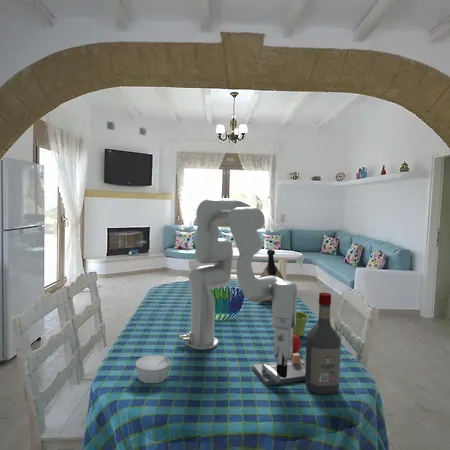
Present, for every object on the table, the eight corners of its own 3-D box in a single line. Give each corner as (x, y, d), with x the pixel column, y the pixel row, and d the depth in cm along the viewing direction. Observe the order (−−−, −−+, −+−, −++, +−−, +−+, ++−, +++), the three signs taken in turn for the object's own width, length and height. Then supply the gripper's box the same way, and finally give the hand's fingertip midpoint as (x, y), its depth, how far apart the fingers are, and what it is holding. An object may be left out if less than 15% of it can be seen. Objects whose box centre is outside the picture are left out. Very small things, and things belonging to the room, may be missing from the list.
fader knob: (294, 364, 130) (294, 355, 130) (291, 361, 132) (291, 353, 132) (300, 363, 131) (300, 354, 131) (297, 361, 133) (298, 352, 133)
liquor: (341, 394, 114) (345, 297, 112) (311, 395, 114) (315, 298, 111) (330, 379, 123) (334, 290, 121) (303, 380, 123) (306, 290, 120)
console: (266, 385, 119) (266, 379, 119) (252, 368, 130) (252, 362, 130) (322, 377, 124) (322, 371, 124) (304, 362, 136) (304, 356, 136)
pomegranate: (298, 360, 138) (299, 336, 137) (272, 355, 142) (272, 331, 141) (302, 349, 147) (303, 326, 146) (277, 345, 151) (278, 322, 150)
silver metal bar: (260, 370, 125) (260, 363, 125) (266, 368, 126) (266, 362, 126) (275, 382, 117) (275, 376, 116) (281, 381, 118) (281, 374, 117)
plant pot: (307, 339, 158) (308, 319, 157) (285, 337, 159) (285, 317, 159) (307, 331, 167) (308, 312, 166) (286, 329, 169) (286, 311, 168)
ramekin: (172, 383, 119) (172, 367, 119) (136, 388, 116) (136, 371, 116) (167, 368, 130) (167, 353, 129) (134, 371, 127) (134, 356, 126)
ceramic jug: (258, 295, 226) (259, 246, 224) (284, 296, 224) (285, 247, 222) (256, 303, 210) (258, 250, 207) (284, 304, 207) (286, 251, 205)
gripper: (292, 330, 110) (290, 389, 112) (298, 314, 124) (296, 367, 126) (267, 326, 112) (265, 385, 114) (275, 311, 126) (273, 364, 128)
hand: (281, 376), depth 120 cm, fingers closed
